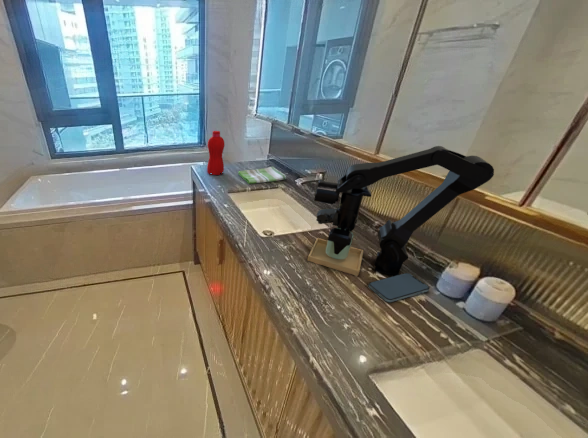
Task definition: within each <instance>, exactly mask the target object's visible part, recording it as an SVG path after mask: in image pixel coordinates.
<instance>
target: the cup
mask: <svg viewBox="0 0 588 438" xmlns="http://www.w3.org/2000/svg"><path fill="white" fill-rule="evenodd" d="M338 229H341V228H338ZM345 230H346V229H345ZM351 233H352V234H353V236H352V240H351V243H350V245H349V246H346V247H345V248H344V249H343V250H342V251H341V252H340V253H339V254H334V242H332V241H329V240H328V239H327V241H328V242H327V246H326V254H327V255H328V256H330V257H332V258H335V259H345V258H347V256H348V253H349V249H350V247H352V242H353V239H354V237H355V236H354V233H353V231H352V232H351Z"/></svg>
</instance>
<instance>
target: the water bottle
mask: <svg viewBox="0 0 588 438" xmlns="http://www.w3.org/2000/svg"><path fill="white" fill-rule="evenodd" d="M211 135H212V136H211V137H210V138H209V139H208V141H207V146H206V147H207V150H208V154H209V155H208V157H209V158H208V162H207V166H206V167H207V169H206V172H207V174H208V175H213V176H220V175H221V176H222V174H223V173H224V172H225V171H224V170H225V169H224V168H225V164H224V159H223V153H224V149H225V140H224V137H222V136H221V131H219V130H212V134H211ZM222 172H223V173H222ZM210 173H212V174H210ZM220 173H221V174H220Z"/></svg>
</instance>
